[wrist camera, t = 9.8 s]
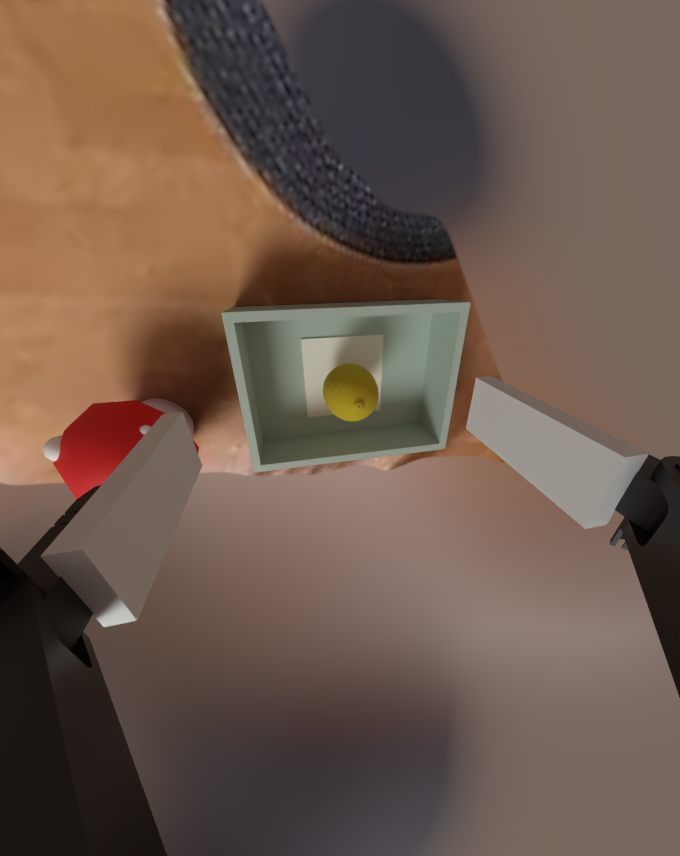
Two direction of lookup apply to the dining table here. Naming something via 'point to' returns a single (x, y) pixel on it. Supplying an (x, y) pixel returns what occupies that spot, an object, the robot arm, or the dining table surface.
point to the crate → (333, 346)
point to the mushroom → (105, 440)
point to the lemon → (350, 392)
